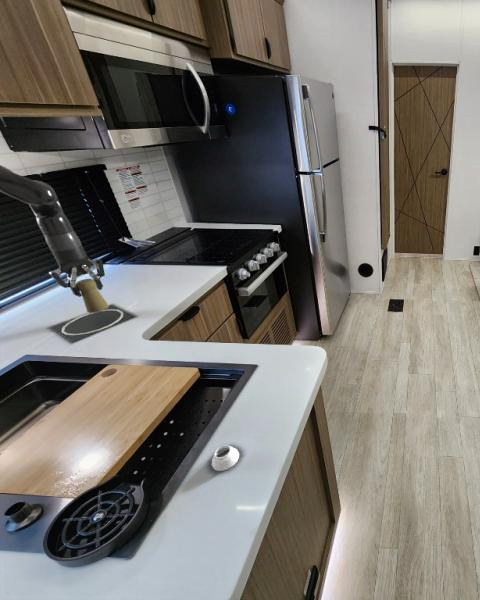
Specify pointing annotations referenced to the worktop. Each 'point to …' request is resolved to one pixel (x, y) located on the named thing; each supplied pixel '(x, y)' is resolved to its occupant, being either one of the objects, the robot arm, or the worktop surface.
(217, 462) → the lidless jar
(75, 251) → the robot arm
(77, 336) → the slate board
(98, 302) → the cork
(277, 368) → the worktop surface
